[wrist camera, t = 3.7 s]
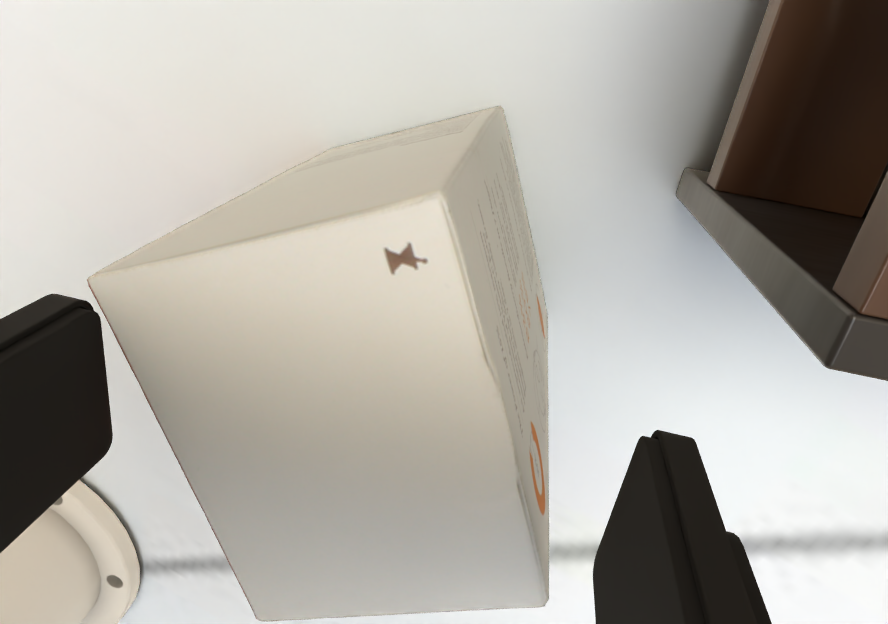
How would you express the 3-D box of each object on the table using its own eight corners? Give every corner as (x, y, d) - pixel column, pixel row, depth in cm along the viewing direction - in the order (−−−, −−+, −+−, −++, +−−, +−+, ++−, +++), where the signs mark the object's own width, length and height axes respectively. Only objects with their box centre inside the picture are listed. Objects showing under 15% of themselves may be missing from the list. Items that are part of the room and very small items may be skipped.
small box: (328, 147, 21) (69, 269, 10) (504, 101, 20) (451, 180, 8) (392, 348, 24) (253, 632, 13) (550, 321, 23) (559, 614, 11)
